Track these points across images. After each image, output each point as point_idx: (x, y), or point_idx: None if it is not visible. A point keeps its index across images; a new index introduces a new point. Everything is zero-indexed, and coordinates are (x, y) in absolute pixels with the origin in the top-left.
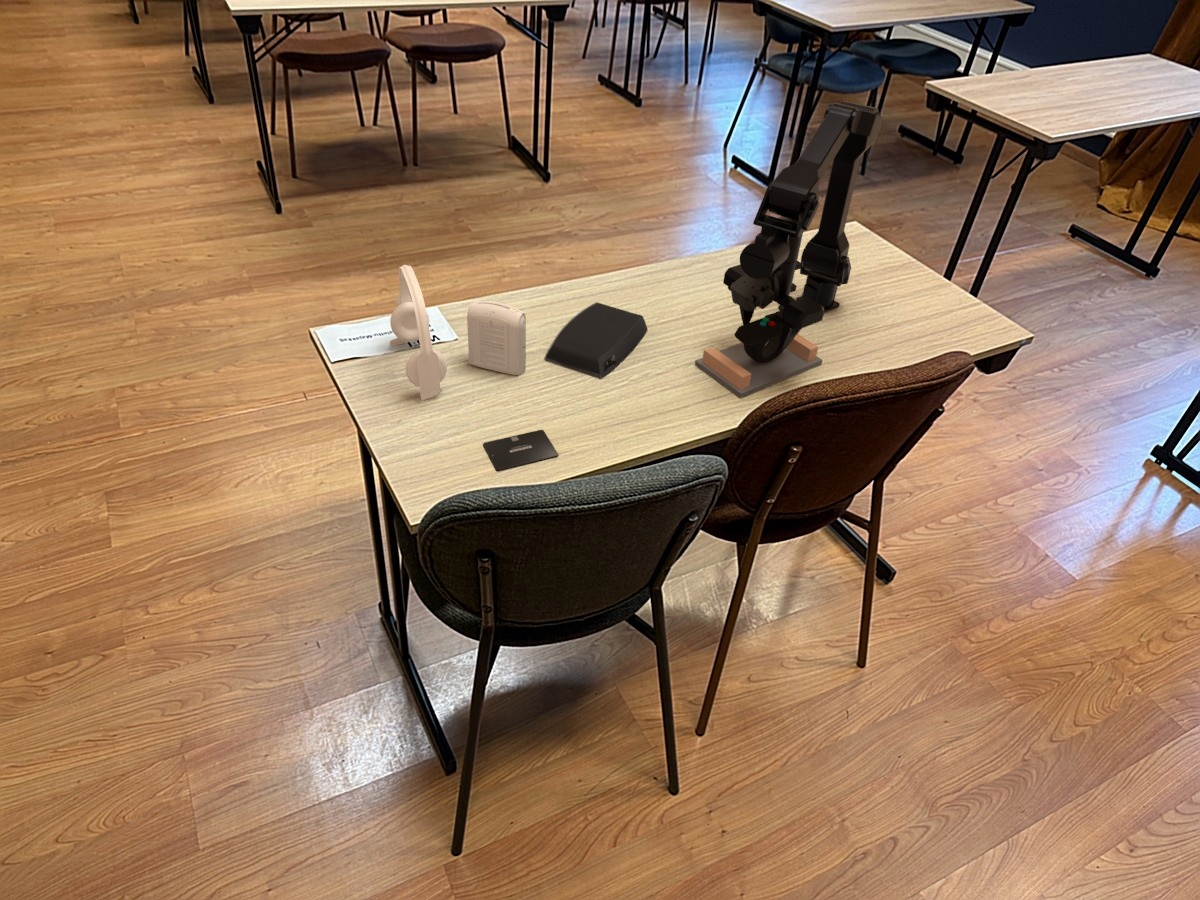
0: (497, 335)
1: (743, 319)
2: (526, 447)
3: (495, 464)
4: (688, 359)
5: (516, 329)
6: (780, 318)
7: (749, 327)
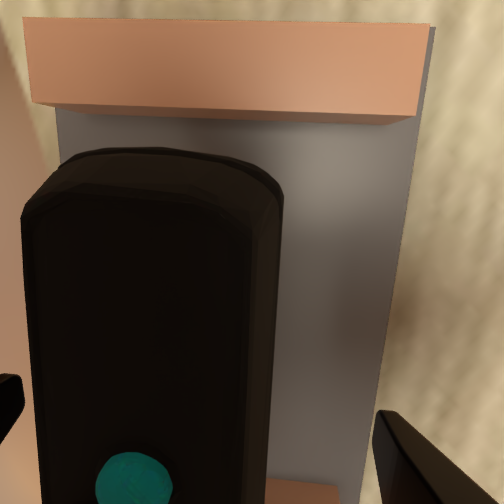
0: None
1: (412, 446)
2: None
3: None
4: (486, 49)
5: None
6: None
7: (168, 327)
